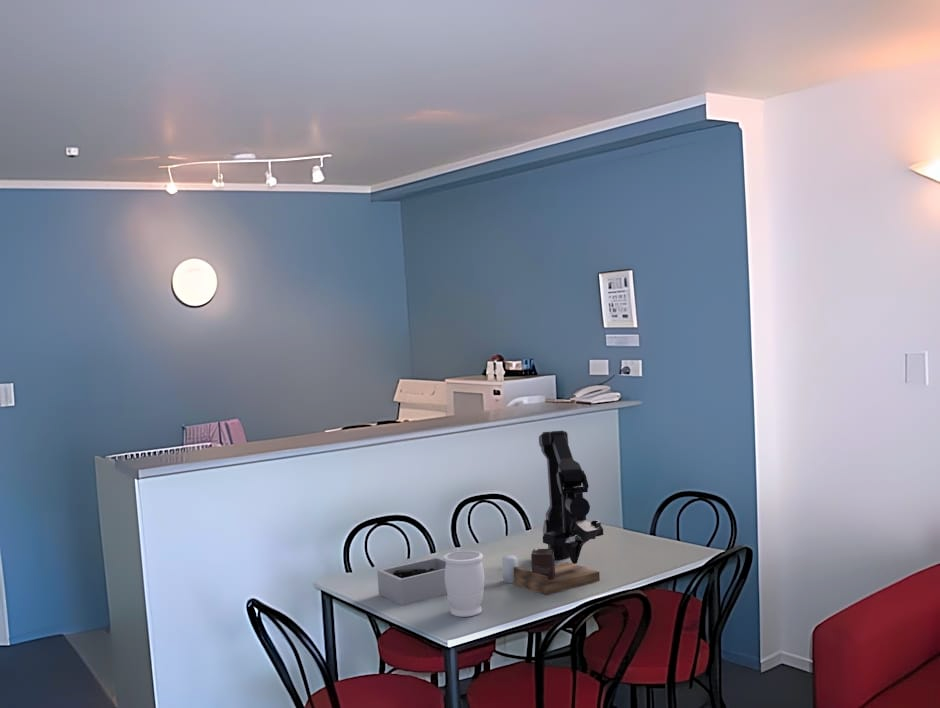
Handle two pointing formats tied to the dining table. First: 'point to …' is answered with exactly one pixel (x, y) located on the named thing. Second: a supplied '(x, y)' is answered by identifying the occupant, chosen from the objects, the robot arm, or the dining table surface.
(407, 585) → the box
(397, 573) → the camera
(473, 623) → the dining table surface
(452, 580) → the jar
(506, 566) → the white block
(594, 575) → the striped wooden slab
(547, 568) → the box
